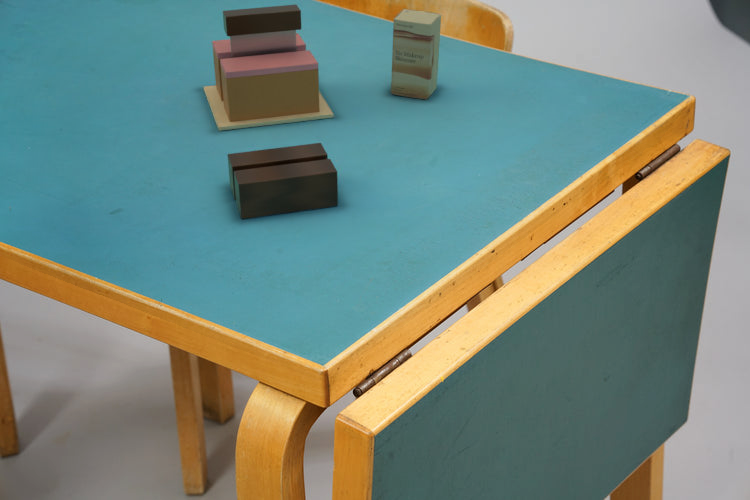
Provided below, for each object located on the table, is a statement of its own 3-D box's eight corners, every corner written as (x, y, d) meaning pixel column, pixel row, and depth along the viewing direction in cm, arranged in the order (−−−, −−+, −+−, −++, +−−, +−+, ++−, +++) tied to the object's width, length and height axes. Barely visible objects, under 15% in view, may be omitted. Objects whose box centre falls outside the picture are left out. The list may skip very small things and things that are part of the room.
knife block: (241, 219, 98) (238, 184, 96) (230, 187, 104) (227, 153, 102) (338, 206, 101) (337, 171, 99) (321, 175, 106) (320, 142, 104)
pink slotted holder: (218, 131, 116) (214, 76, 112) (203, 89, 127) (198, 39, 123) (333, 117, 119) (332, 64, 116) (309, 78, 130) (307, 29, 126)
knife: (232, 107, 121) (225, 16, 115) (229, 99, 123) (222, 10, 117) (304, 99, 123) (300, 10, 117) (300, 92, 125) (296, 4, 119)
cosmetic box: (389, 95, 125) (390, 18, 120) (400, 83, 129) (402, 7, 124) (428, 100, 124) (431, 23, 119) (438, 88, 127) (441, 12, 122)
